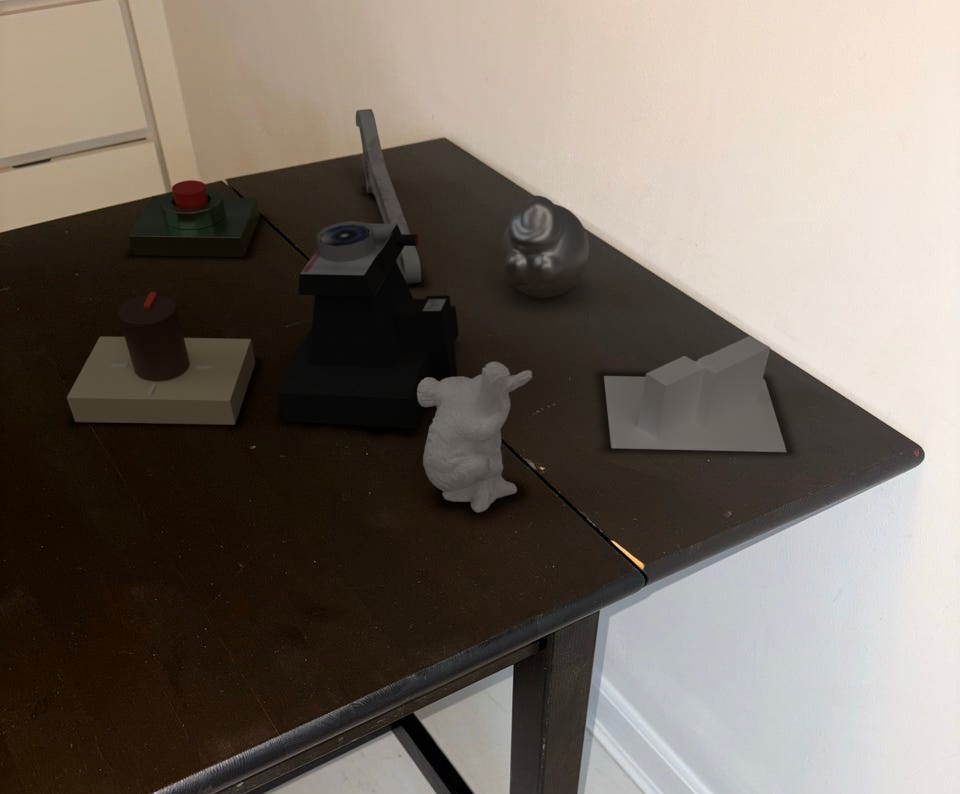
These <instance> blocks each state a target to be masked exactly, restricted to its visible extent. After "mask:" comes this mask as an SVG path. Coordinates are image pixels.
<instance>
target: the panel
mask: <svg viewBox="0 0 960 794" xmlns="http://www.w3.org/2000/svg"><path fill="white" fill-rule="evenodd" d="M184 340H185V345H186V349H187V353H188V357H189V362H190V364H189V367H188V369H187V370H186V371H185V372H184V373H183V374H181V375H180V376H178V377H175V378H173V379H169V380H164V381H149V380H145V379H142V378H140V377H139V376H137V375H136V373H135V371H134V368H133V364H132V361H131V357H130V354H129V350H128V347H127V343H126V340H125V336H99V337H98V339H97V341H96V342H95V345H94V347H93V349H92V350H91V352H90V355H89V356H88V358H87V359H86V361H85V363H84V365H83V367H82V368H81V371H80V372H79V374H78V376H77V378H76V380H75V381H74V383H73V385H72V387H71V389H70V391H69V392H68V394H67V397H66V399H67V402H68V405H69V408H70V411H71V414H72V418H73V420H74V422H75V423H105V424H106V423H108V424H109V423H110V424H112V423H113V424H114V423H116V424H167V425H169V424H173V425H229V426H230V425H231V426H235V425H236V423H237V421H238V418H239V415H240V411H241V408H242V405H243V402H244V399H245V395H246V392H247V389H248V387H249V383H250V380H251V378H252V374H253V371H254V368H255V366H256V357H255V353H254V347H253V342H252V339H251V338H222V337H221V338H215V337H213V338H212V337H184Z"/></svg>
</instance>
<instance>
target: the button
mask: <svg viewBox="0 0 960 794" xmlns="http://www.w3.org/2000/svg"><path fill="white" fill-rule="evenodd" d="M206 188H207V186H206V184H205V182H203V181H201V180H194V179H192V180H191V179H189V180H183V181H179V182H177V183H175V184H173V185H172V187H171V192H172V193H173V197H174V202H175V206H177V207H180V208H196V207H201V206H203V205H205V204H207V203H209V200H208V195H207V190H206Z"/></svg>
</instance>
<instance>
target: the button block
mask: <svg viewBox="0 0 960 794" xmlns="http://www.w3.org/2000/svg"><path fill="white" fill-rule="evenodd" d="M206 190H207V195H208V200H209V203H207V204H205V205H203V206H201V207H196V208H180V207H177V206H175V202H174V197H173V193H172V191H171V192H169V193H167V194H165V195H164V196H160V195H157V196H156V195H154V196H151V197H150V199H149V200H148V203H147V204H146V206H145V208H144V209H143V210H142V212H141V214H140V216H139V218H138V219H137V221H136V223H135V224H134V226H133V228H132V229H131V231H130V233H129V234H128V238H129V242H130V246H131V249H132V253H133V256H143V257H145V256H148V257H204V258H206V257H207V258H209V257H211V258H212V257H215V258H244V257H245V256H246V252H247V250H248V248H249V246H250V243H251V240H252V237H253V235H254V233H255V231H256V227H257V225H258V222H259V220H260V217H261V215H260V209H259V203H258V198H257V197H230V196H229V197H228V196H227V197H226V196H225V197H223V196H222V194H221V193H220V192H219V191H218V190H216V189H215V190H214V189H211V188H208V187H206Z"/></svg>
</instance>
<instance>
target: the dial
mask: <svg viewBox="0 0 960 794" xmlns="http://www.w3.org/2000/svg"><path fill="white" fill-rule="evenodd" d="M117 314H118V320H119V323H120V326H121V329H122V333H123V337H125V340H126V343H127V347H128V350H129V354H130V357H131V361H132V364H133V368H134V371H135V373H136V375H137V376H139V377H140V378H142V379H145V380H149V381H164V380H169V379H173V378H175V377H178V376H180V375H181V374H183V373H184V372H185V371H186V370H187V369H188V367H189V364H190V362H189V357H188V353H187V349H186V345H185V340H184V338H185V336H184V333H183V328H182V324H181V319H180V315H179V312H178V307H177V304H176V302H175V301H174V300H173V299H171V298H169V297H167V296H164V295H158V291H150V292H149V294H148V295H143V296H138V297H134V298H132V299H129V300H128V301H125V302H124V303H123V304H122V305H121V306H120V307H119V309H118V312H117Z"/></svg>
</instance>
